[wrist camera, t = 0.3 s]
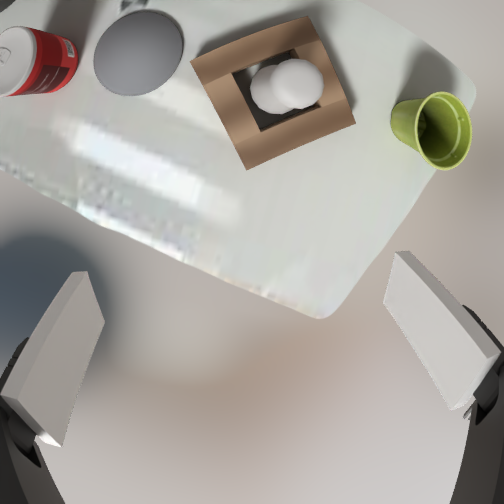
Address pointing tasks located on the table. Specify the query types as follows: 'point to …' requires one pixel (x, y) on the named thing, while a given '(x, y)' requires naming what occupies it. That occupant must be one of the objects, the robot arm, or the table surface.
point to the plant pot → (434, 128)
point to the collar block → (237, 111)
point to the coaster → (137, 54)
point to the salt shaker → (287, 86)
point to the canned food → (34, 61)
